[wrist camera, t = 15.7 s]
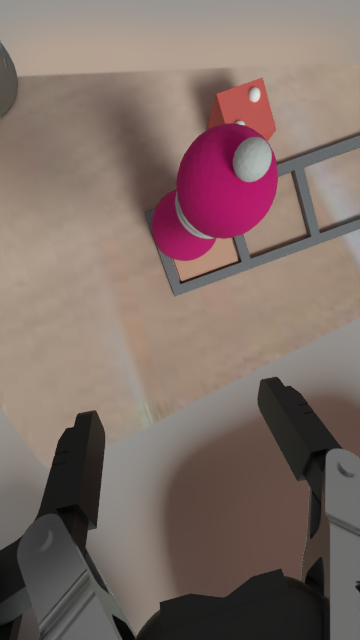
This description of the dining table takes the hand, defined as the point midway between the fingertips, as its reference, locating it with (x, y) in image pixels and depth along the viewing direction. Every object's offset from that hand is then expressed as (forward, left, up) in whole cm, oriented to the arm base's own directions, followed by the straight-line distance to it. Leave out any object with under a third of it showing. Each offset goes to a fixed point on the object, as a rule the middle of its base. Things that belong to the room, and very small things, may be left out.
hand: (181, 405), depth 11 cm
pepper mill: (+5, +11, -20) cm, 24 cm away
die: (+15, +20, -21) cm, 32 cm away
